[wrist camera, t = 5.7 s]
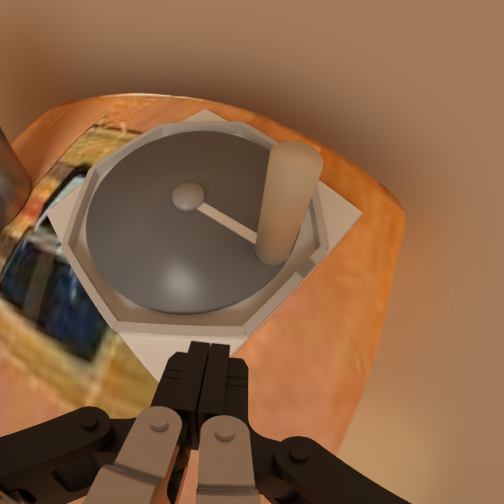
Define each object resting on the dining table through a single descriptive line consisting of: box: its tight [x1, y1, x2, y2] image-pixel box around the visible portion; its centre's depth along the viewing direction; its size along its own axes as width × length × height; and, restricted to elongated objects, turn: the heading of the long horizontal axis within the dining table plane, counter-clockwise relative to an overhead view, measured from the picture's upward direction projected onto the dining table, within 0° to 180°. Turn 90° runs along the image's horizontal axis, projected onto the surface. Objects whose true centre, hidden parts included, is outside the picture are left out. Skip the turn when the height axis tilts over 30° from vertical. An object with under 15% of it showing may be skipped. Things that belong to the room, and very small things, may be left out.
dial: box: [86, 131, 324, 315], centre depth 19 cm, size 19×19×10 cm
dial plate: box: [47, 109, 362, 382], centre depth 23 cm, size 22×22×3 cm
